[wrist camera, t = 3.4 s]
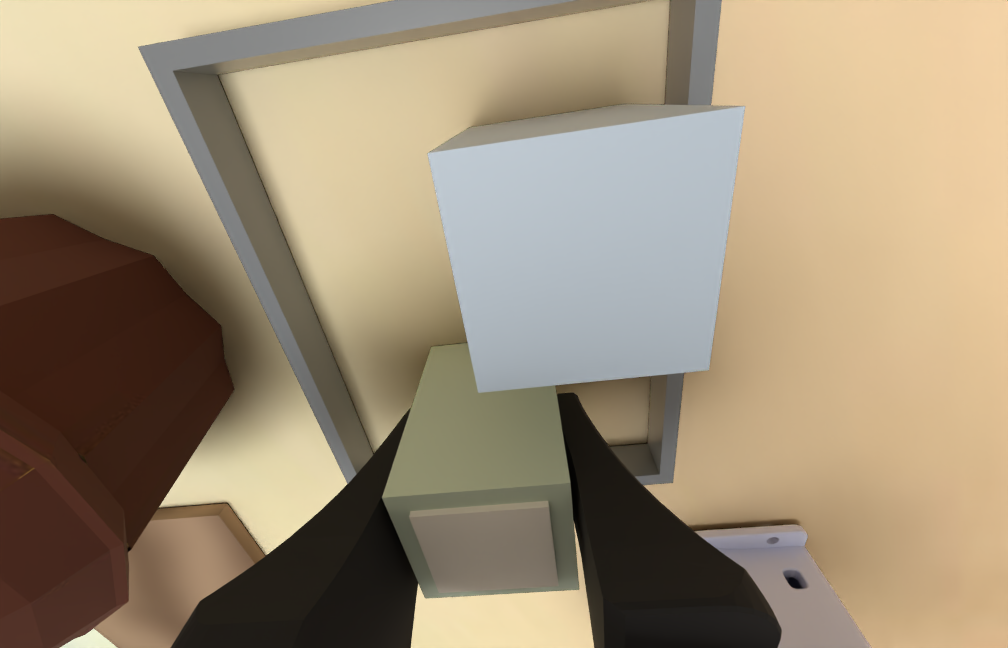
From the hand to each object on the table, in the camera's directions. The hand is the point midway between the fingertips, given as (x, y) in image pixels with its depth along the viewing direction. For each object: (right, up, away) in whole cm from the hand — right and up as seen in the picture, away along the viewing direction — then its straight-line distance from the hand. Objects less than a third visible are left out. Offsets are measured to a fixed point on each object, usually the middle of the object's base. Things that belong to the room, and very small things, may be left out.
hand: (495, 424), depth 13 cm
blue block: (+2, +7, -2) cm, 7 cm away
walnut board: (-17, -11, +9) cm, 22 cm away
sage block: (0, +1, +2) cm, 2 cm away
